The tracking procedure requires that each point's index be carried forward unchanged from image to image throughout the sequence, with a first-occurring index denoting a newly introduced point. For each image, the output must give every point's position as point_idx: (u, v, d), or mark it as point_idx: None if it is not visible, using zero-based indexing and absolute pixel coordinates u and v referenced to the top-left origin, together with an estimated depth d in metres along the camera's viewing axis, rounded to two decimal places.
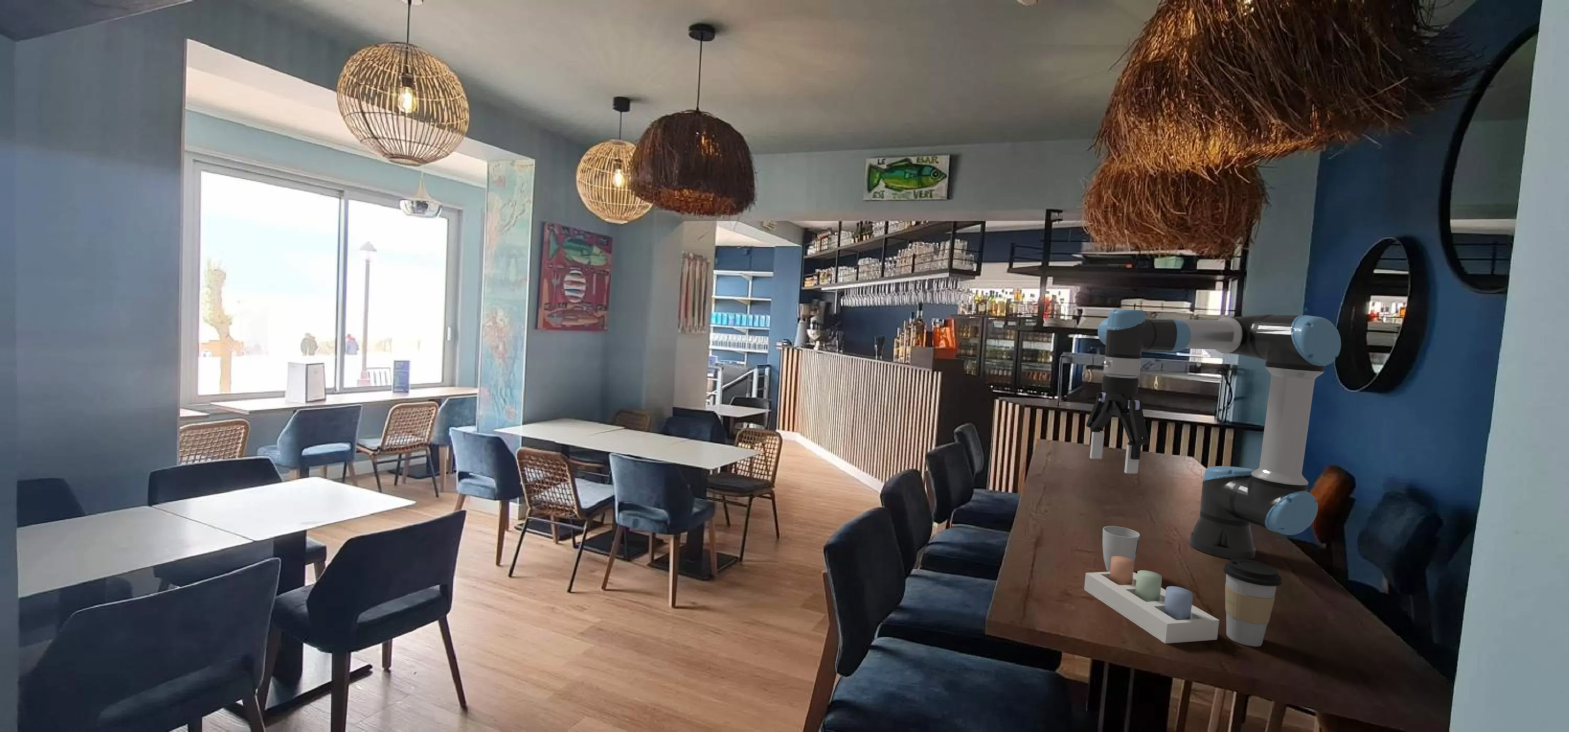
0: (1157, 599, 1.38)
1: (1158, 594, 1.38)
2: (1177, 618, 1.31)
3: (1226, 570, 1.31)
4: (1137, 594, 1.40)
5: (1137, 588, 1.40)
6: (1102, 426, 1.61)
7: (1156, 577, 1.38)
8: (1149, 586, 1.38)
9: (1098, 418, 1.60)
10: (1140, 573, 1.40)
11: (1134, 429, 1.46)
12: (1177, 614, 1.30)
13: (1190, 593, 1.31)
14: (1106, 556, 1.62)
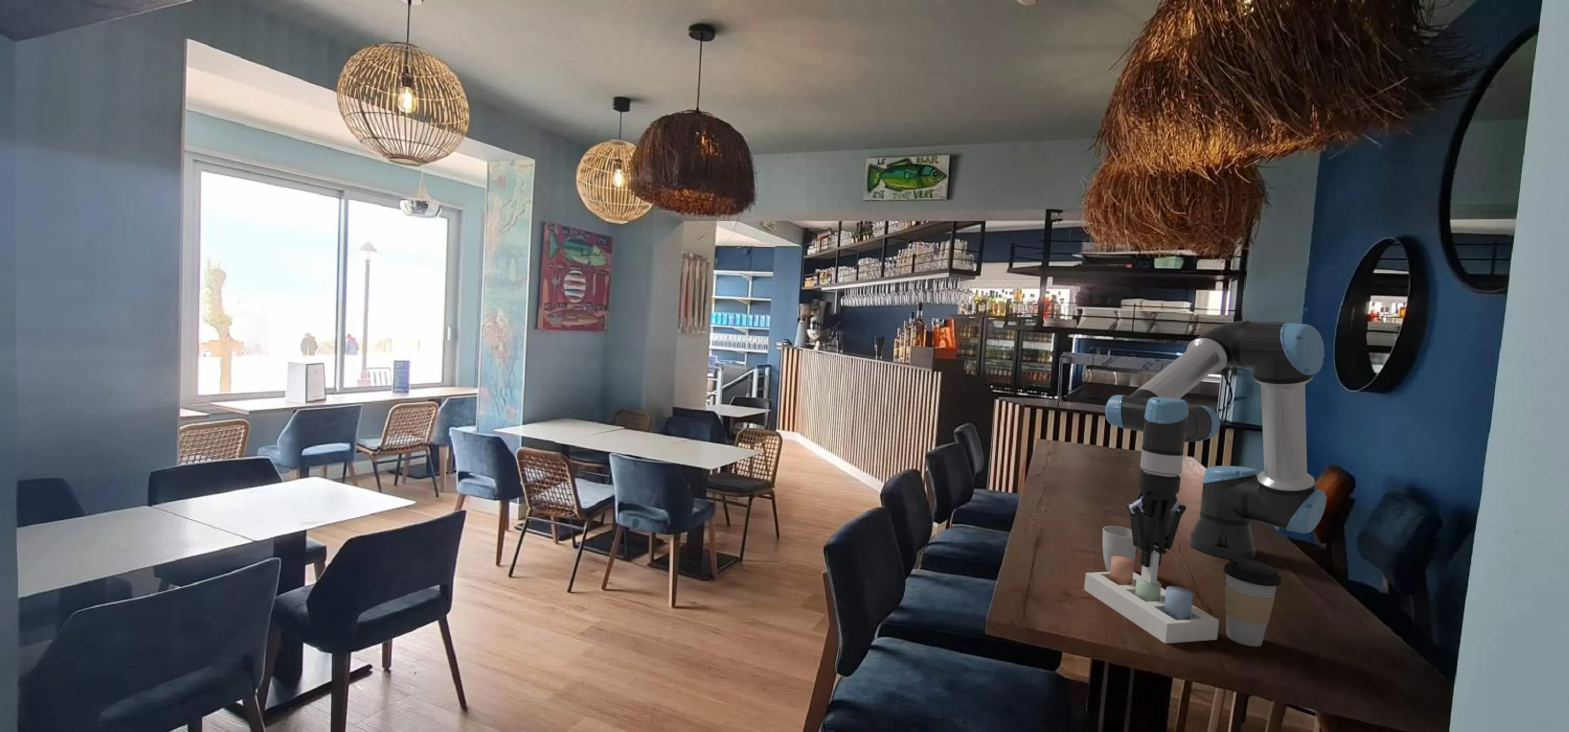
0: None
1: None
2: (1177, 618, 1.31)
3: (1226, 570, 1.31)
4: None
5: (1136, 595, 1.40)
6: (1157, 541, 1.39)
7: (1155, 584, 1.39)
8: (1148, 594, 1.38)
9: None
10: (1139, 580, 1.41)
11: None
12: (1177, 614, 1.30)
13: (1190, 593, 1.31)
14: (1106, 556, 1.62)
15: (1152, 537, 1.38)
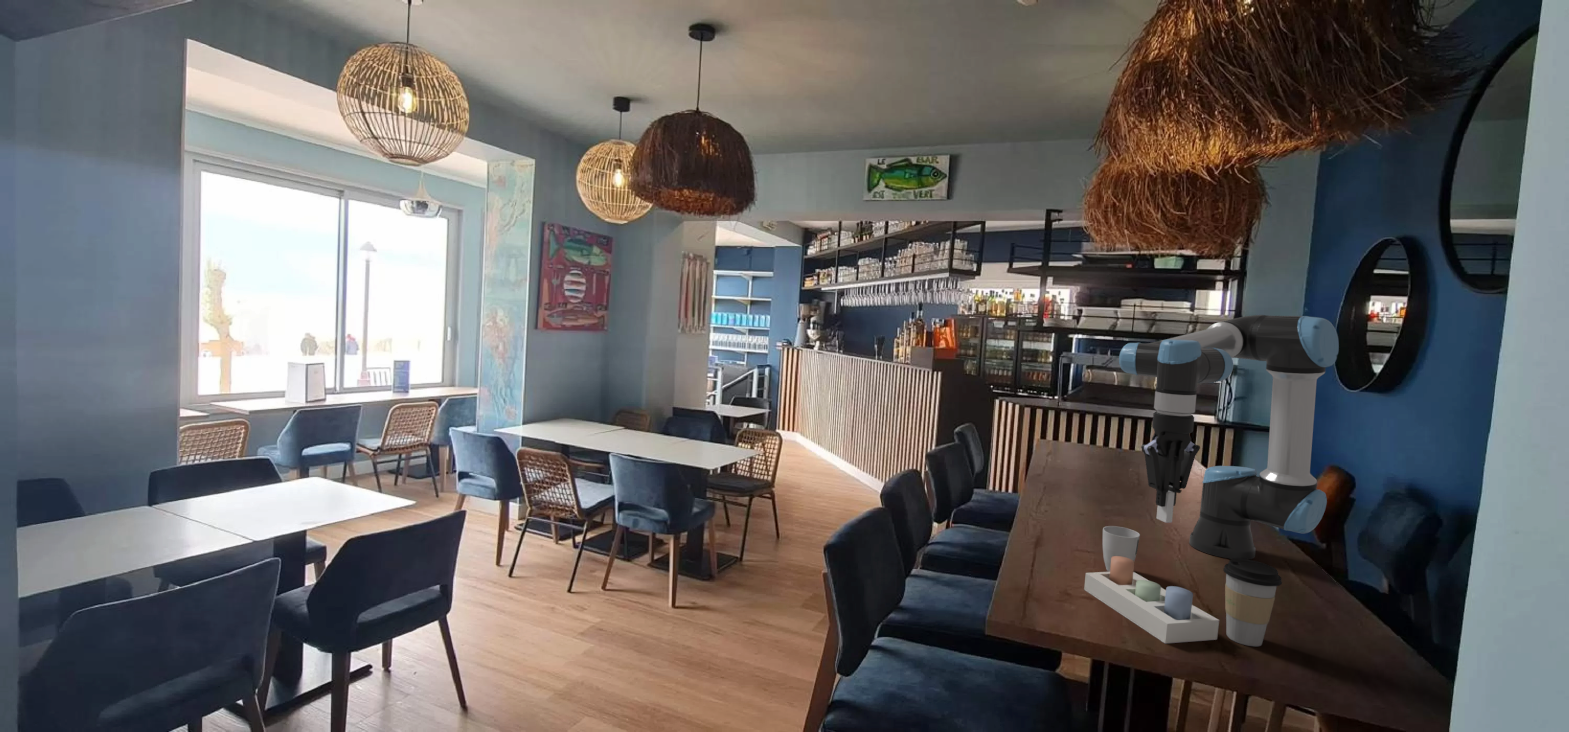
0: None
1: None
2: (1177, 618, 1.31)
3: (1226, 570, 1.31)
4: None
5: None
6: (1172, 480, 1.41)
7: (1155, 587, 1.39)
8: (1148, 596, 1.38)
9: None
10: (1139, 583, 1.41)
11: None
12: (1177, 614, 1.30)
13: (1190, 593, 1.31)
14: (1106, 556, 1.62)
15: (1167, 477, 1.40)
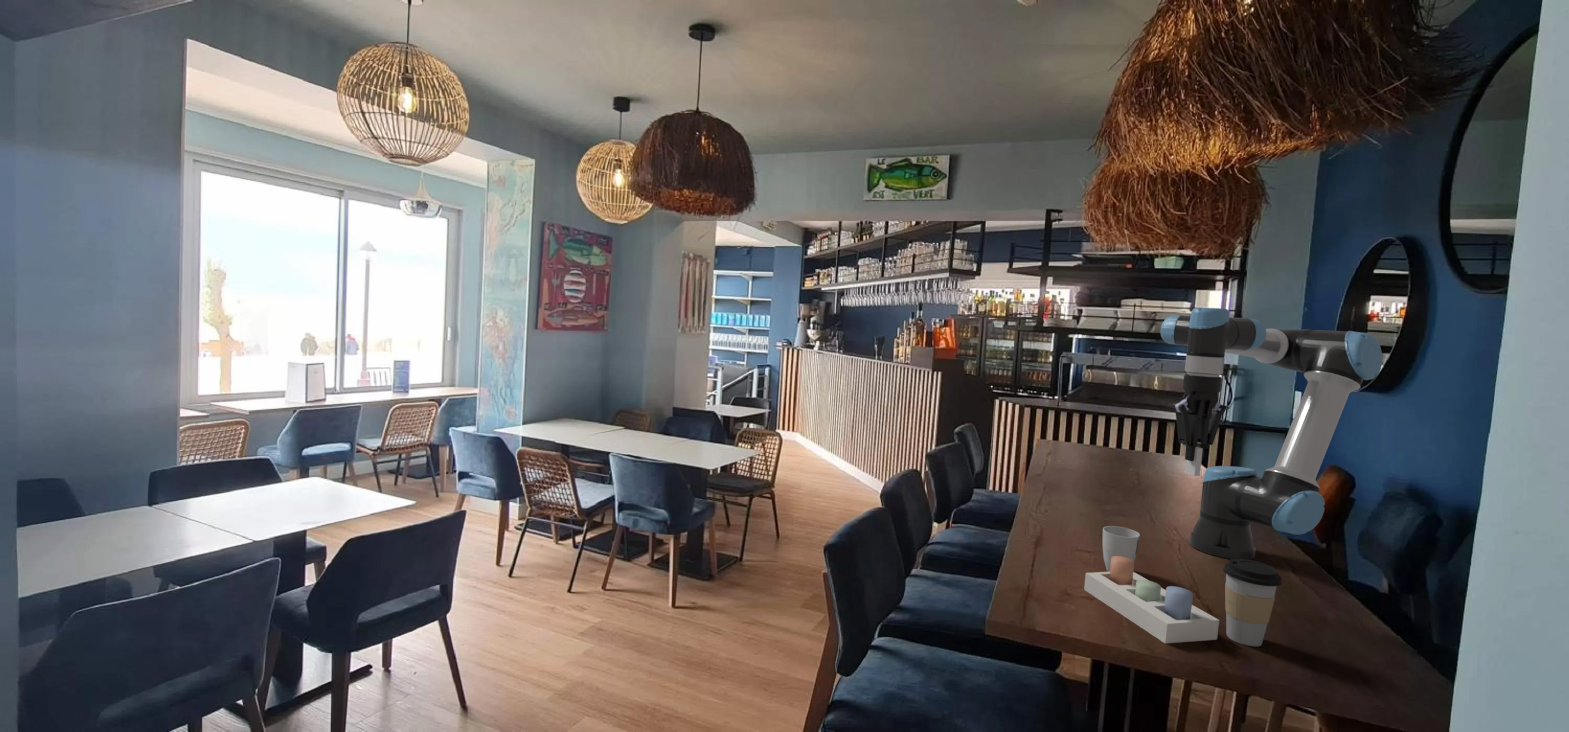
0: None
1: None
2: (1177, 618, 1.31)
3: (1226, 570, 1.31)
4: None
5: None
6: (1200, 437, 1.54)
7: (1155, 587, 1.39)
8: (1148, 596, 1.38)
9: None
10: (1139, 583, 1.41)
11: None
12: (1177, 614, 1.30)
13: (1190, 593, 1.31)
14: (1106, 556, 1.62)
15: (1196, 434, 1.53)
